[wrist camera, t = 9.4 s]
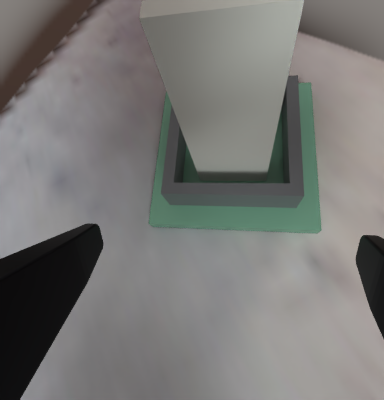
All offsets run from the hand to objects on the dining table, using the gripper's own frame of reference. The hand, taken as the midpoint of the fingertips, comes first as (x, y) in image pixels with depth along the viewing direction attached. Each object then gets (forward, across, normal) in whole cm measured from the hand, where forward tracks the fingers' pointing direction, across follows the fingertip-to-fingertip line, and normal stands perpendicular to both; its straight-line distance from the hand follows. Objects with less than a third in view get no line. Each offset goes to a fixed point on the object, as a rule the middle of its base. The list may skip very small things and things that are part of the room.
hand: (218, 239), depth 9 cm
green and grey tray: (+13, 0, +1) cm, 13 cm away
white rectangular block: (+13, 0, 0) cm, 13 cm away
